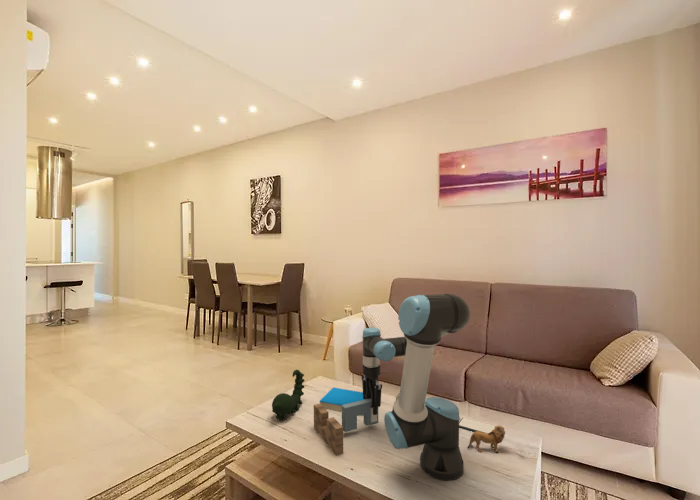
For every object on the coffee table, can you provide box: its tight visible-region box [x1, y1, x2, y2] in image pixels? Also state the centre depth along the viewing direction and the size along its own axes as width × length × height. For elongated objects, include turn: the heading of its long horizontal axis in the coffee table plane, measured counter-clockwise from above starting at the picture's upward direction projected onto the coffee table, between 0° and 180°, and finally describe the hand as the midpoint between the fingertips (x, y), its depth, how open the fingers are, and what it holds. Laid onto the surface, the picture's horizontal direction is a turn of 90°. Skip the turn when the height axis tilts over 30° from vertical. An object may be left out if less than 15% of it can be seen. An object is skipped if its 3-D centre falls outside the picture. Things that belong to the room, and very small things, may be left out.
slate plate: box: [341, 398, 379, 433], centre depth 149 cm, size 16×3×10 cm, turn 118°
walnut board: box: [313, 403, 344, 456], centre depth 143 cm, size 22×3×10 cm, turn 28°
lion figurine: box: [466, 425, 506, 453], centre depth 136 cm, size 15×5×9 cm, turn 93°
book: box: [319, 387, 366, 417], centre depth 173 cm, size 17×4×25 cm
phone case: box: [459, 417, 496, 433], centre depth 152 cm, size 9×2×16 cm
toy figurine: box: [271, 369, 306, 422], centre depth 164 cm, size 9×19×25 cm
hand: (371, 419), depth 152 cm, fingers closed on slate plate, 3 cm apart
